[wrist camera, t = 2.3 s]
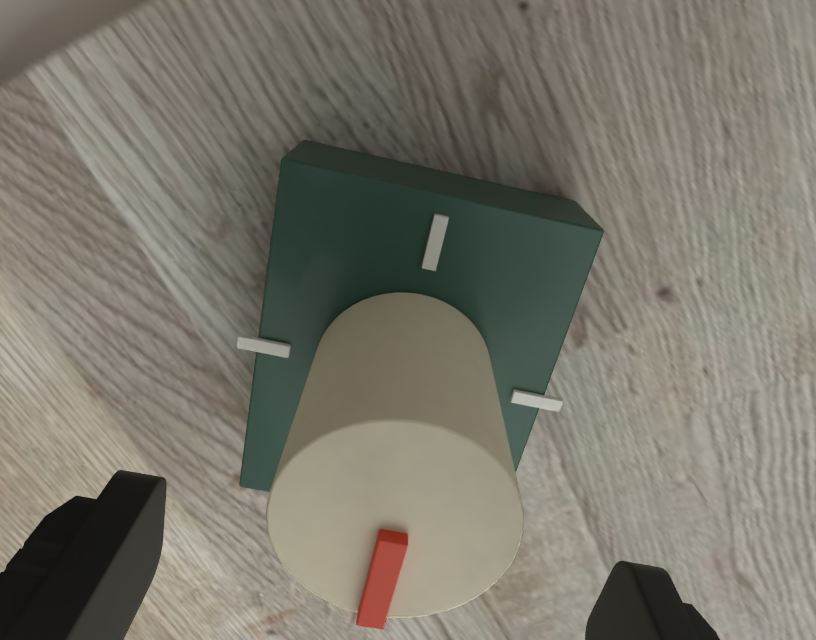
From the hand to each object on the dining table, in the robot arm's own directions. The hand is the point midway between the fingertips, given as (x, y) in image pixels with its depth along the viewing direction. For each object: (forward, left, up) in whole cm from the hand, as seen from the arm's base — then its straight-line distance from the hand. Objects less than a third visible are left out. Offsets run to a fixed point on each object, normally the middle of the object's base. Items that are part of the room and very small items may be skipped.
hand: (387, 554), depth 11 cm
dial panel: (0, 0, -10) cm, 10 cm away
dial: (0, 0, -6) cm, 6 cm away
